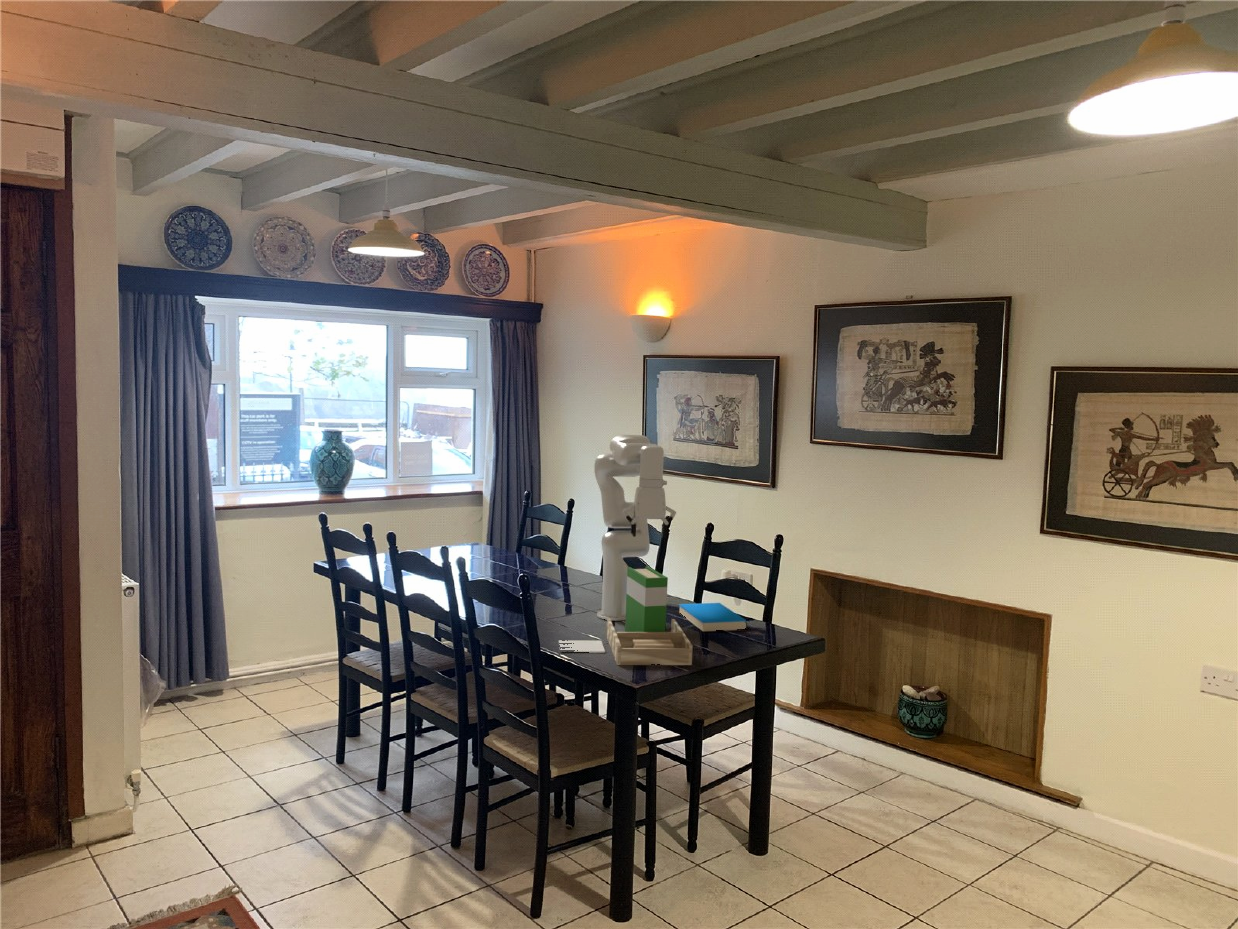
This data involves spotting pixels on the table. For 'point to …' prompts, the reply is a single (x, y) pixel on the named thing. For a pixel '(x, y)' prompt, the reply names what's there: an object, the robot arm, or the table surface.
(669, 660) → the rack
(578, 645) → the mat
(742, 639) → the table surface
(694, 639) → the table surface
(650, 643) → the oak offcut
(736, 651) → the table surface
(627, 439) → the robot arm
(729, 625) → the book
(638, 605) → the hardback book
